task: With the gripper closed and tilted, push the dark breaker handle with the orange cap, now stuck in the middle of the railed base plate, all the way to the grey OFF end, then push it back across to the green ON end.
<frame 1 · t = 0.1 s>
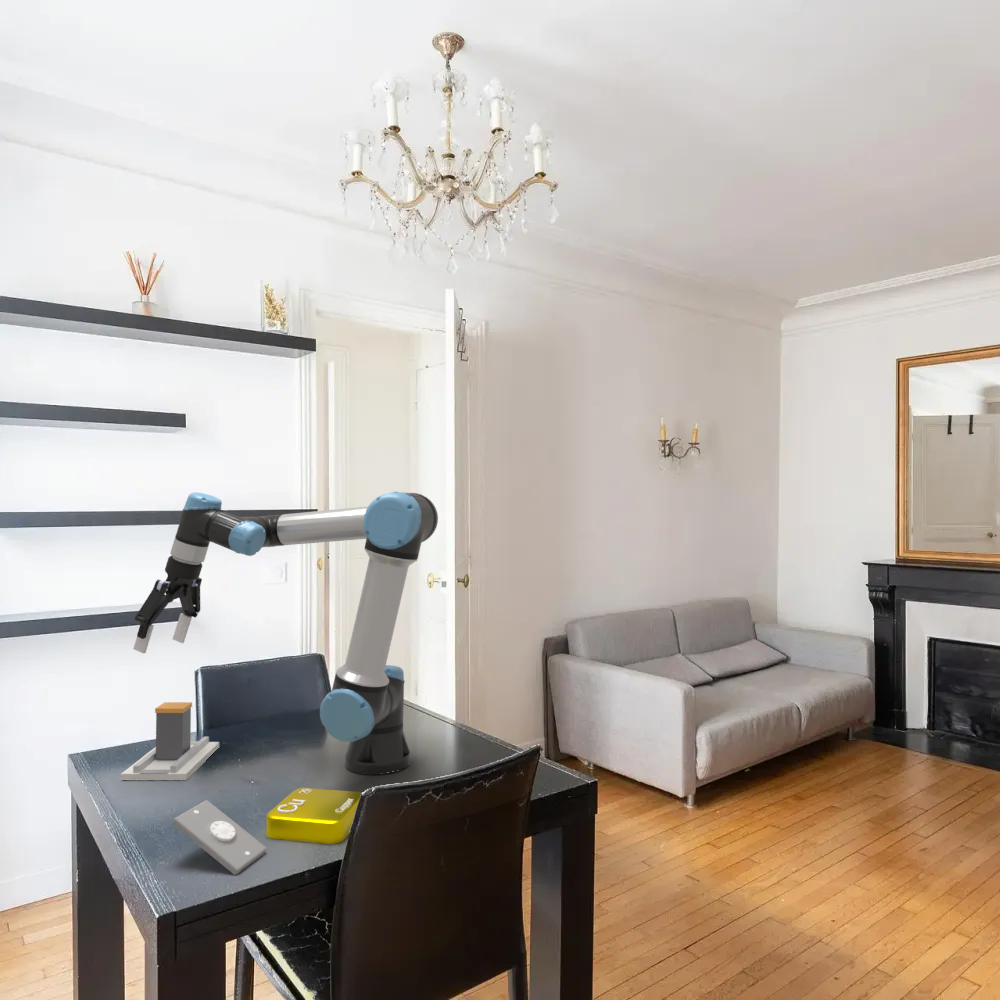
hand: (159, 645, 176), 28 cm above the table, tool tilted 20°, fingers open, 13 cm apart
breaker handle: (173, 730, 178), point 8 cm above the table, slide at 0.0 cm
railed base plate: (173, 763, 178), on the table
element tile: (317, 827, 146), on the table
light switch: (219, 859, 131), on the table
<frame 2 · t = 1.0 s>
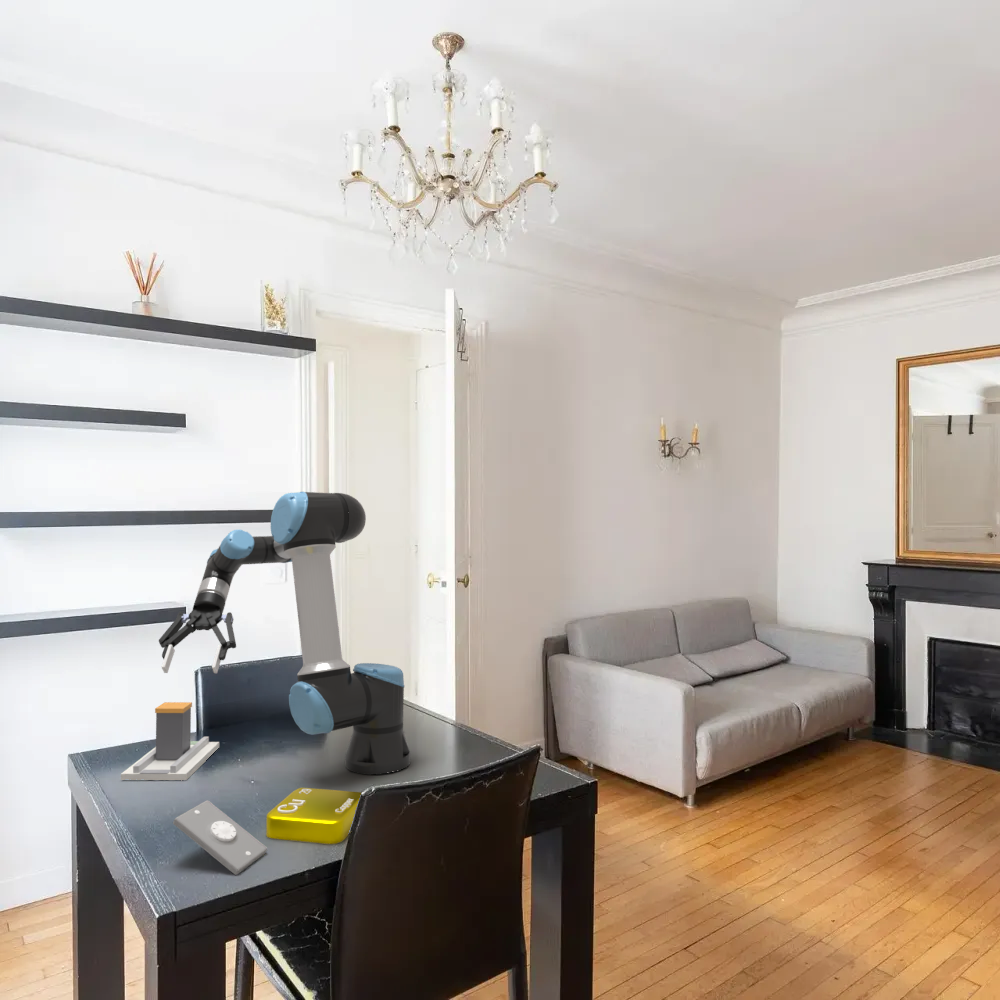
hand: (189, 670, 188), 19 cm above the table, tool tilted 45°, fingers open, 11 cm apart
nothing on the table moved.
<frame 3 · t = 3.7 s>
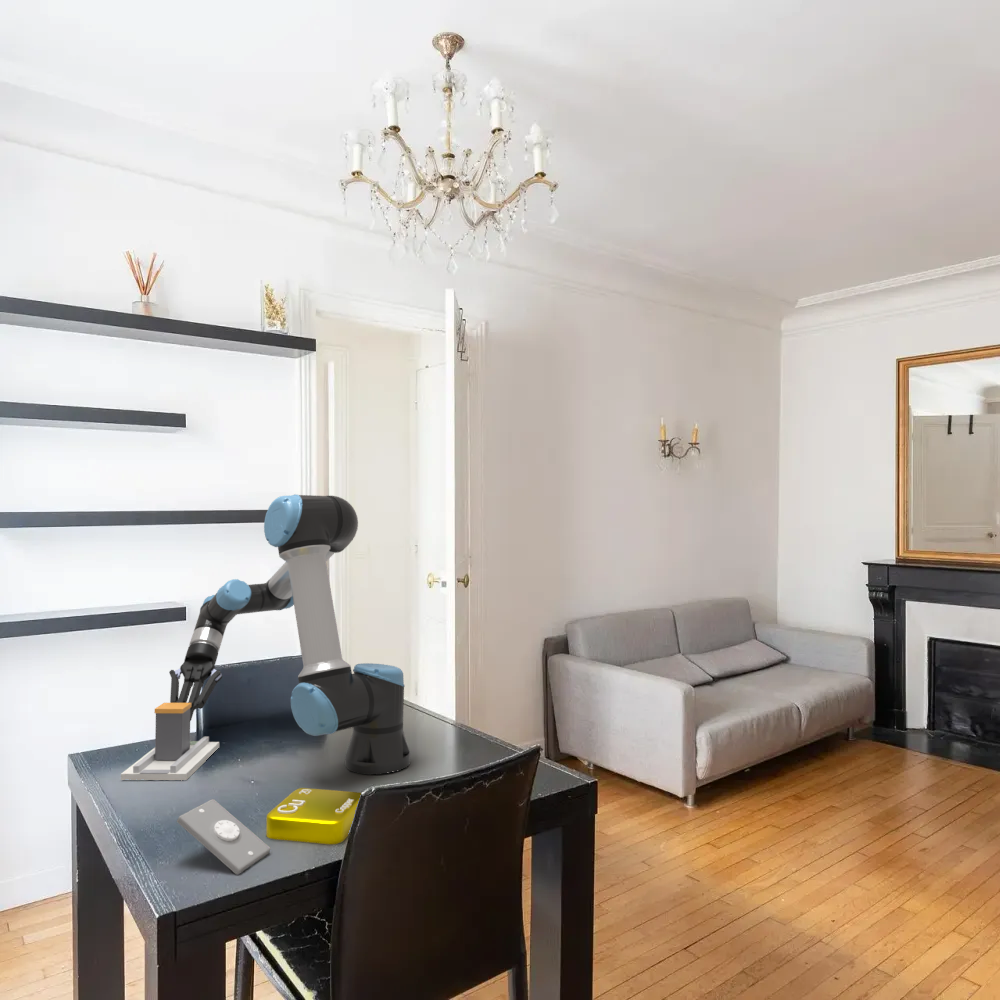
hand: (177, 733, 181), 6 cm above the table, tool tilted 45°, fingers closed
breaker handle: (173, 731, 177), point 8 cm above the table, slide at -0.3 cm, touching gripper
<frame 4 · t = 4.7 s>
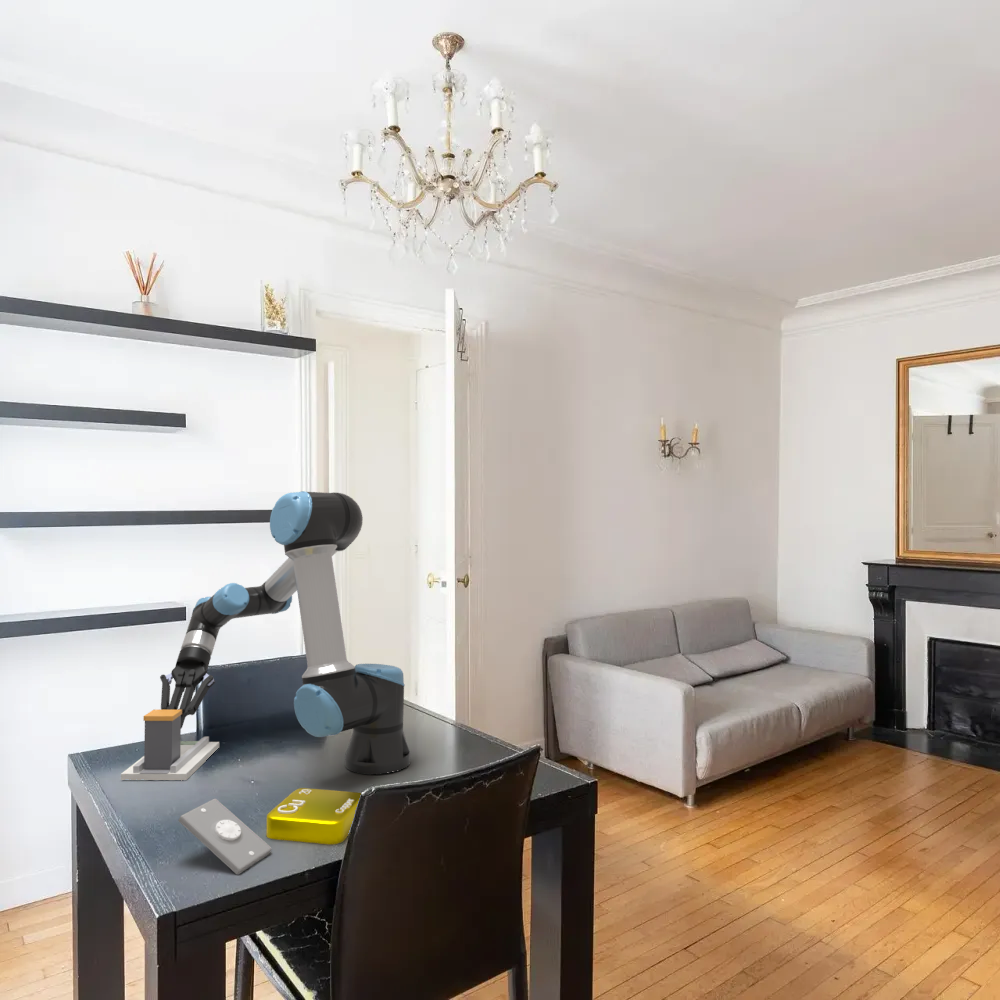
hand: (168, 740, 175), 6 cm above the table, tool tilted 45°, fingers closed
breaker handle: (162, 739, 172), point 8 cm above the table, slide at -6.2 cm, touching gripper
everything else where it was.
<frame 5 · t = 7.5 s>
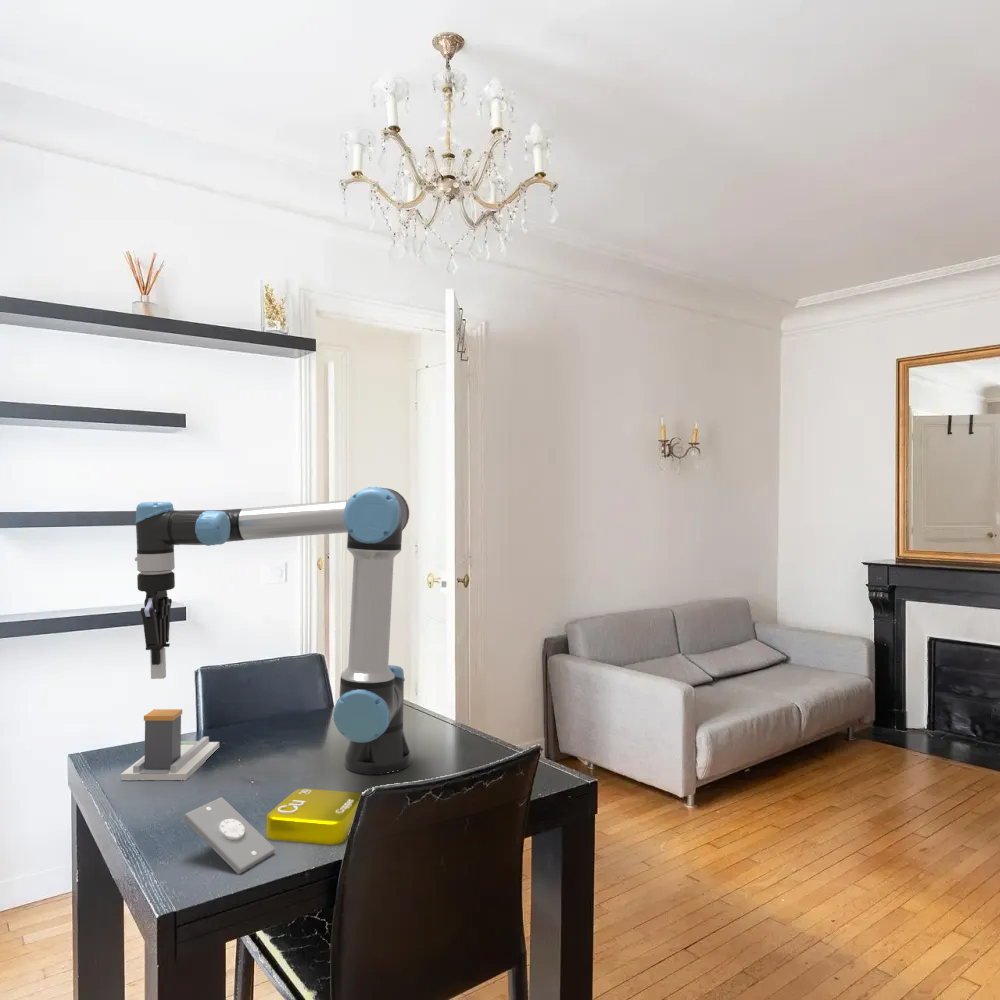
hand: (158, 677, 169), 22 cm above the table, tool pointing down, fingers closed
breaker handle: (163, 738, 172), point 8 cm above the table, slide at -6.0 cm
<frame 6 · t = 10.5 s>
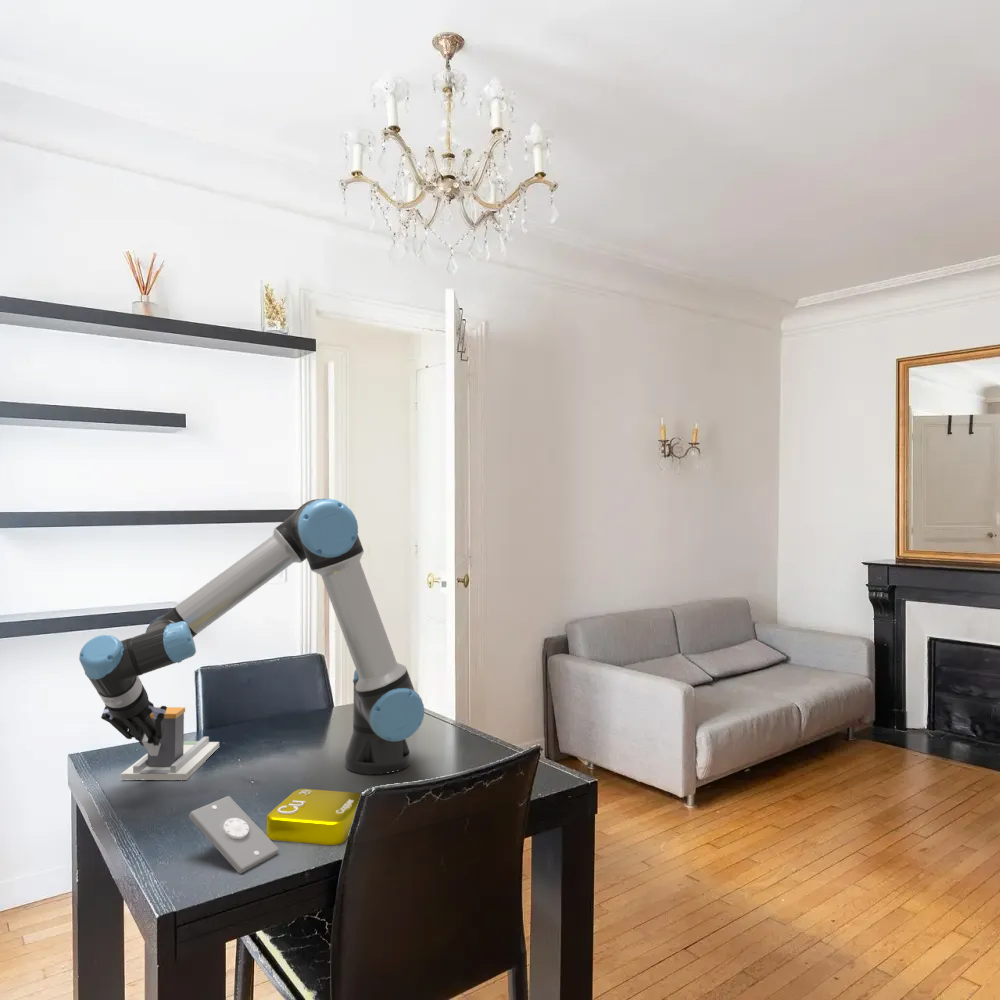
hand: (155, 750, 170), 6 cm above the table, tool tilted 45°, fingers closed
breaker handle: (166, 736, 173), point 8 cm above the table, slide at -4.3 cm, touching gripper
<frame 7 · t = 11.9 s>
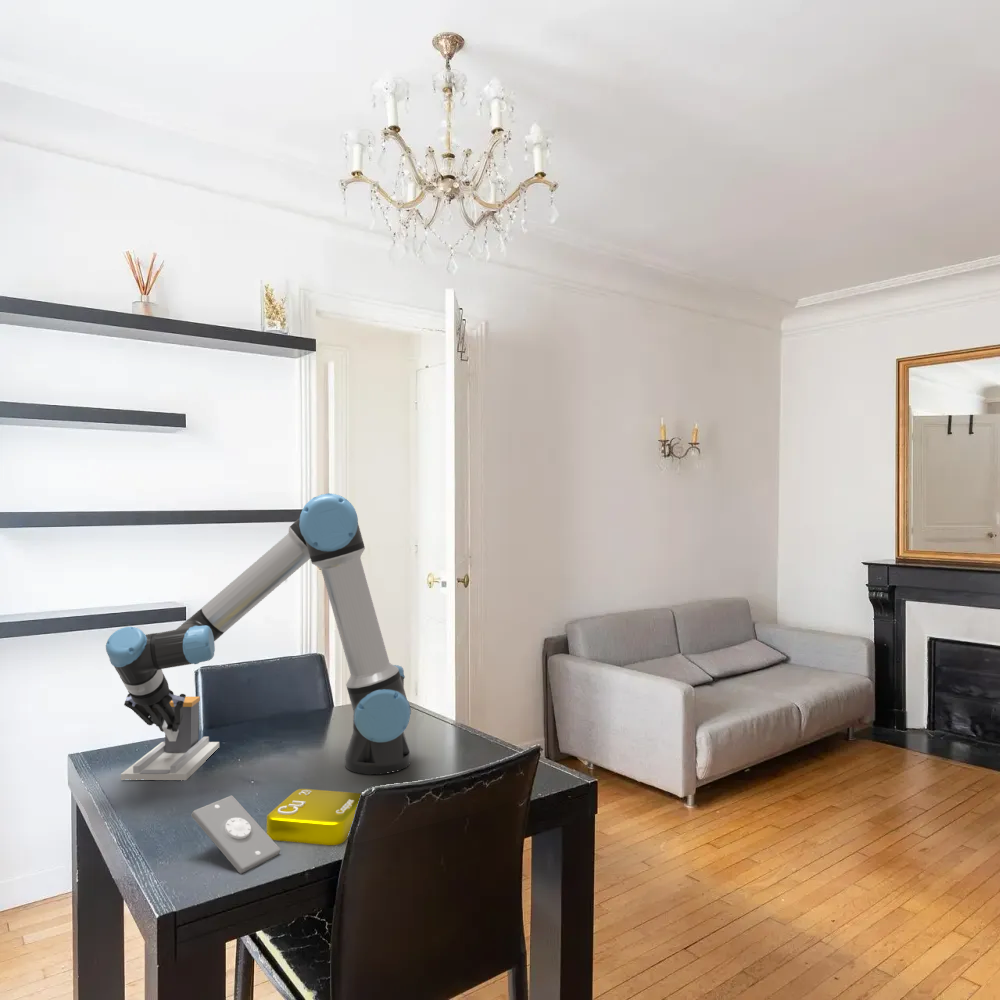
hand: (174, 736, 179), 6 cm above the table, tool tilted 45°, fingers closed
breaker handle: (182, 724, 183), point 8 cm above the table, slide at 5.3 cm, touching gripper
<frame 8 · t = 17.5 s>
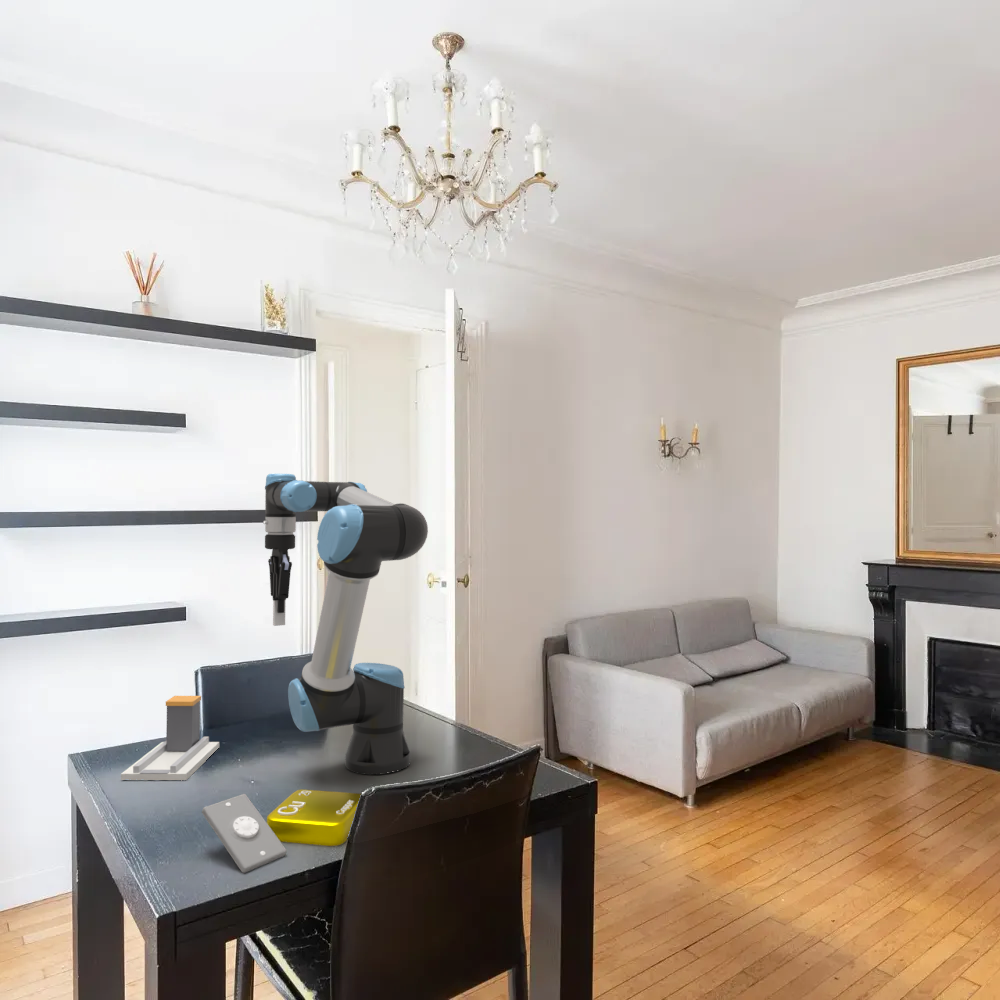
hand: (279, 624, 197), 29 cm above the table, tool pointing down, fingers closed
breaker handle: (183, 723, 184), point 8 cm above the table, slide at 6.0 cm
light switch: (243, 854, 133), on the table
everything else where it was.
at the end: breaker handle slide at 6.0 cm; light switch moved 4.1 cm from its start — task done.
